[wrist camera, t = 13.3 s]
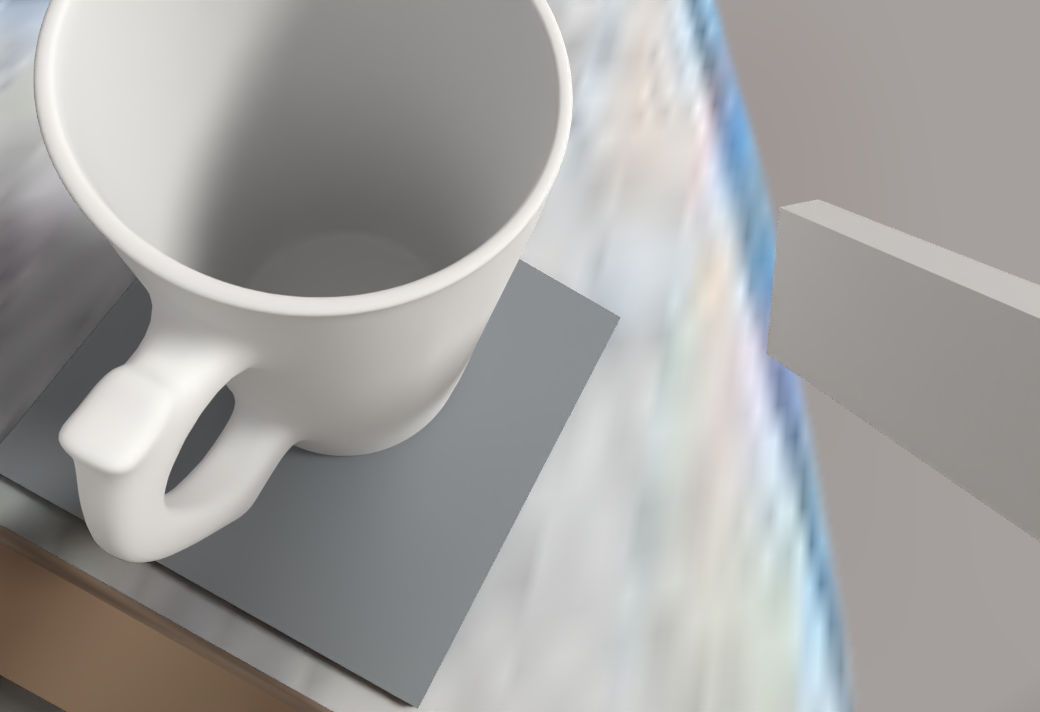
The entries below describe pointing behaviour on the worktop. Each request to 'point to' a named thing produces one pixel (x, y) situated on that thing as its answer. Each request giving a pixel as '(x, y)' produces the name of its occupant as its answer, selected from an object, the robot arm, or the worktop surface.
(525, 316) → the rubber mat
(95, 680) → the walnut collar
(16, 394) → the worktop surface
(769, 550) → the worktop surface
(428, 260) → the mug
